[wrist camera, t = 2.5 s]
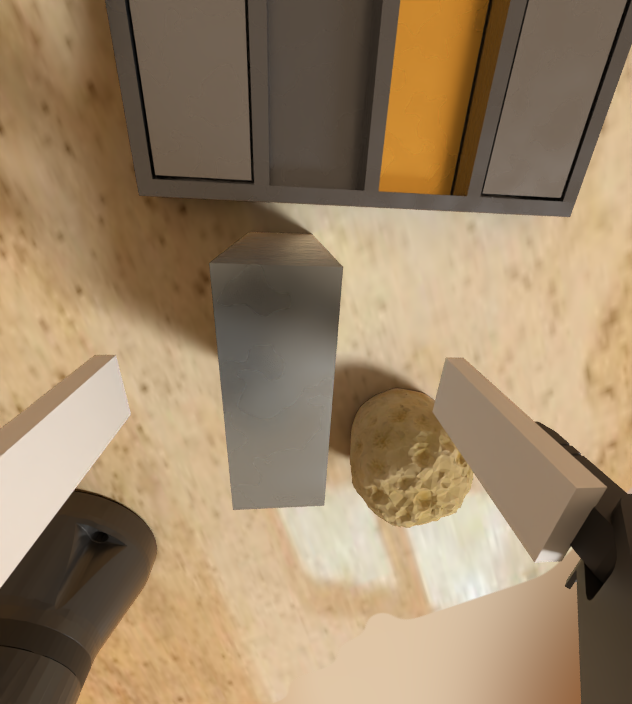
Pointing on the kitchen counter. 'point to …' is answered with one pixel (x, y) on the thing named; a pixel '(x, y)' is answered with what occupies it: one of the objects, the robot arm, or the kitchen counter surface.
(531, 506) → the robot arm
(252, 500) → the panel
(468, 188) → the rack
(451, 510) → the decorative item
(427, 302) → the kitchen counter surface
